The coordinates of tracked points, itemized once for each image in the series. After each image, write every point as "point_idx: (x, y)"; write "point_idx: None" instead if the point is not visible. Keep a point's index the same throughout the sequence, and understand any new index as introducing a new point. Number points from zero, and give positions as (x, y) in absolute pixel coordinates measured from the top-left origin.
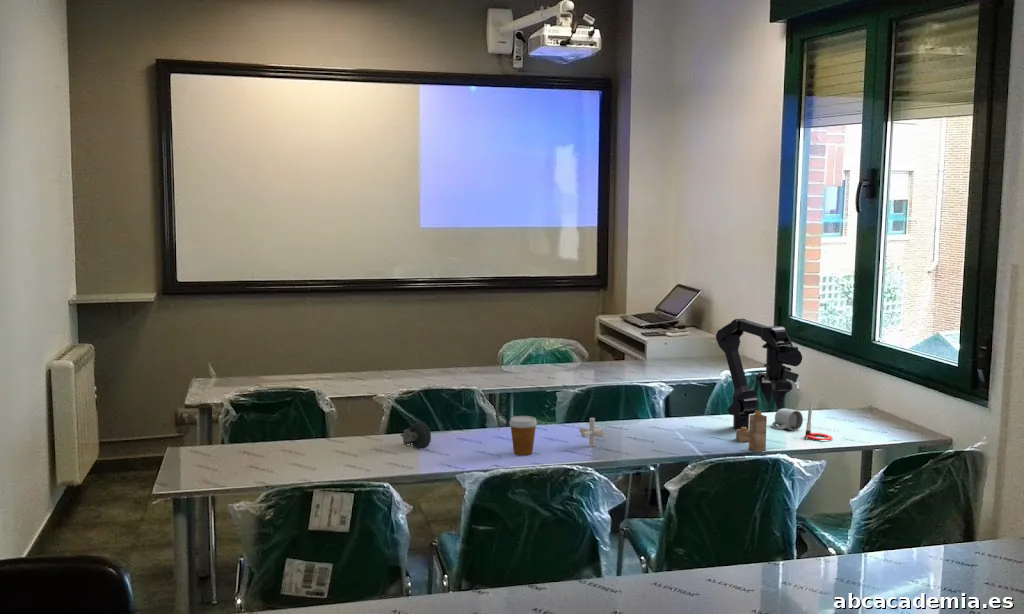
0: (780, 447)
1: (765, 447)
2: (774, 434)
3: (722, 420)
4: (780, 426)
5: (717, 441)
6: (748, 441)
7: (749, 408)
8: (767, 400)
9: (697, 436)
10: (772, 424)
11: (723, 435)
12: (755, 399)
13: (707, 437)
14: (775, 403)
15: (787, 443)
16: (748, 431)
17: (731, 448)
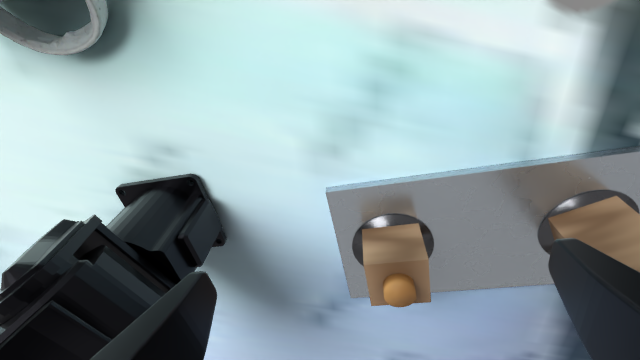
0: (523, 88)
1: (629, 207)
2: (211, 60)
3: (26, 248)
4: (92, 3)
5: (382, 315)
6: (421, 233)
7: (157, 297)
8: (207, 308)
9: (314, 350)
10: (45, 49)
11: (286, 285)
12: (68, 326)
13: (325, 331)
14: (589, 341)
15: (433, 19)
16: (423, 270)
17: (493, 295)
